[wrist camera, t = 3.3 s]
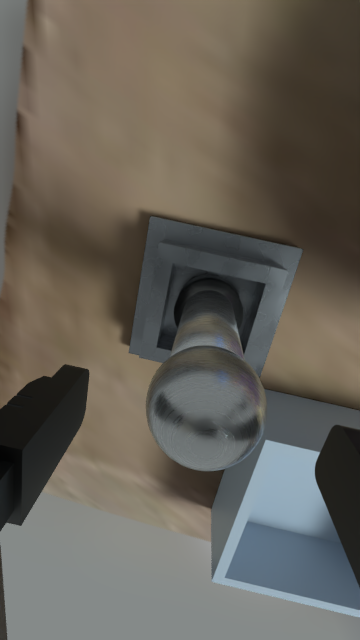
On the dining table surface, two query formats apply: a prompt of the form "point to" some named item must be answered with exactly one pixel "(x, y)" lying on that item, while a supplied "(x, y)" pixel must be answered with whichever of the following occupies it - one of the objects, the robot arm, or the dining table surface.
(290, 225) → the dining table surface
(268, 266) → the socket block
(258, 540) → the bin
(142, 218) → the dining table surface
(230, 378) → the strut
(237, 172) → the dining table surface
